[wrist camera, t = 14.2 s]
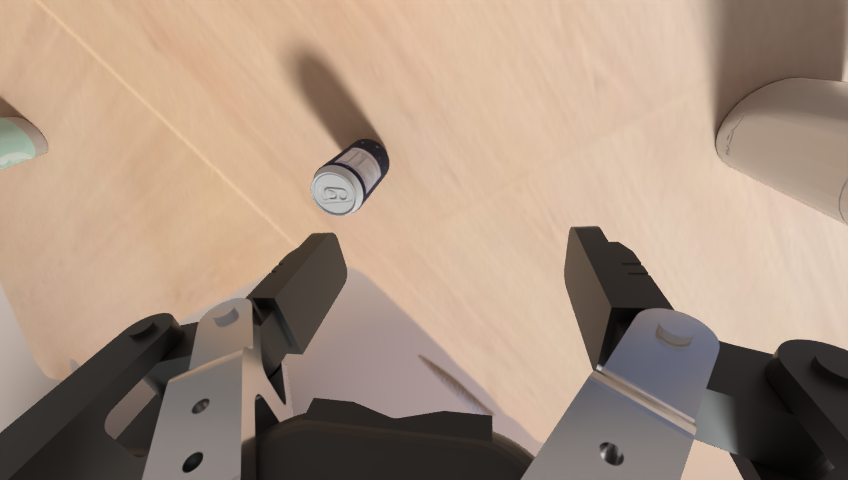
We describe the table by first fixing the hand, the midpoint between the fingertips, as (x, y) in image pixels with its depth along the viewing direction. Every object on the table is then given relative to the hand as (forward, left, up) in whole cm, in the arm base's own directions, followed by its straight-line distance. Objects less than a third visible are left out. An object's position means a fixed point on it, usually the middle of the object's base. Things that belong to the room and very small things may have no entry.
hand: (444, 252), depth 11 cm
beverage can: (+14, +5, -30) cm, 34 cm away
